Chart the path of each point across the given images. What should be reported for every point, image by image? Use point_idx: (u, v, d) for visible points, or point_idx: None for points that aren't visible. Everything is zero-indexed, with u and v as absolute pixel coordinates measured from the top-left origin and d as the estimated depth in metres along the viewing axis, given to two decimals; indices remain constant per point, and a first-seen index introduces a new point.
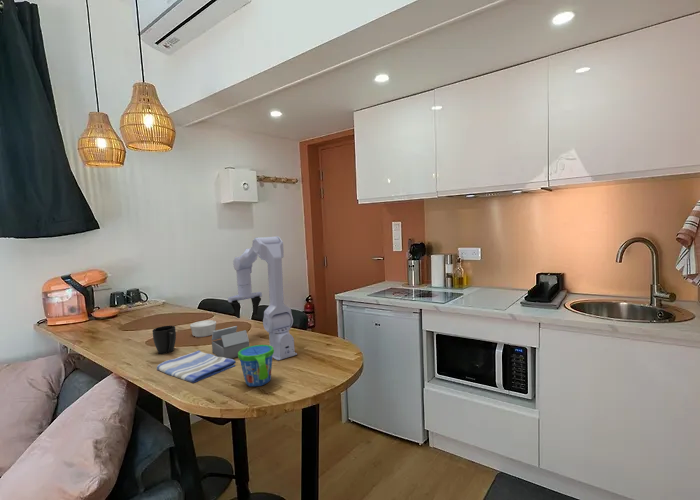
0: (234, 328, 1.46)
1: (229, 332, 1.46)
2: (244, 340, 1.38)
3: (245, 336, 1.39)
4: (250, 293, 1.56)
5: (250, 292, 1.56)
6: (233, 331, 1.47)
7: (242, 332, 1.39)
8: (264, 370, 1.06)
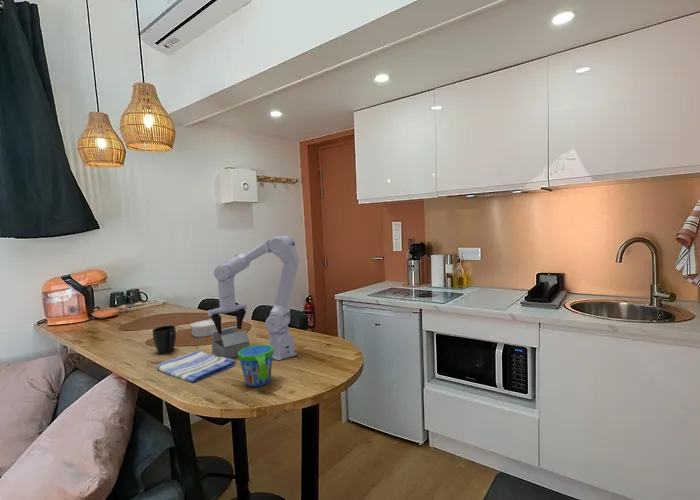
0: (234, 328, 1.46)
1: (229, 332, 1.46)
2: (244, 340, 1.38)
3: (245, 336, 1.39)
4: (233, 306, 1.38)
5: (233, 304, 1.38)
6: (233, 331, 1.47)
7: (242, 332, 1.39)
8: (264, 370, 1.06)
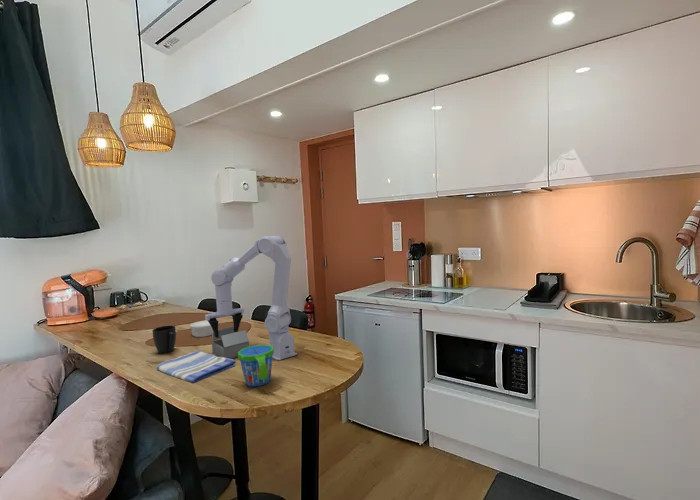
0: None
1: (229, 332, 1.46)
2: (244, 340, 1.38)
3: (245, 336, 1.39)
4: (230, 310, 1.41)
5: (230, 309, 1.41)
6: (233, 331, 1.47)
7: (242, 332, 1.39)
8: (264, 370, 1.06)
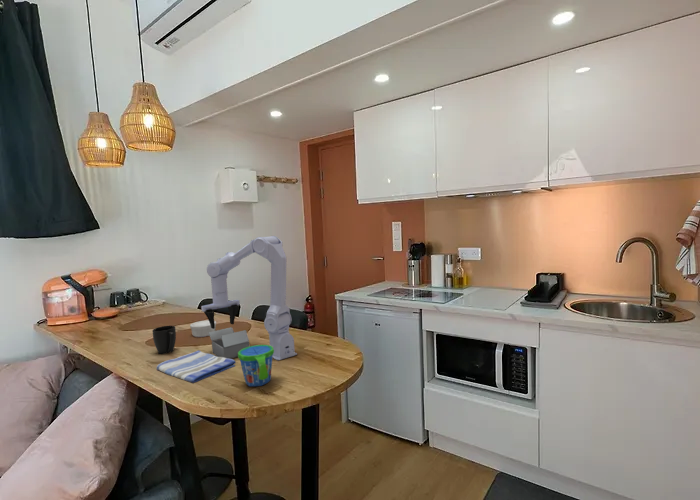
0: (230, 328, 1.50)
1: (226, 332, 1.48)
2: (244, 340, 1.38)
3: (245, 336, 1.39)
4: (226, 301, 1.44)
5: (226, 300, 1.44)
6: (230, 331, 1.49)
7: (242, 332, 1.39)
8: (264, 370, 1.06)
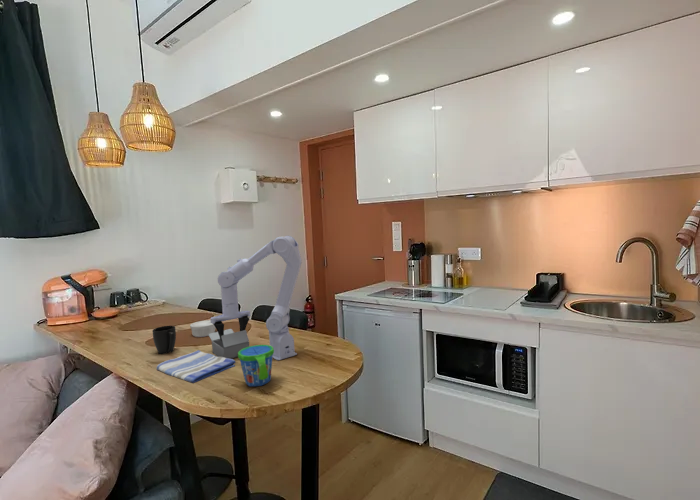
0: (229, 330, 1.50)
1: (226, 333, 1.48)
2: (244, 340, 1.38)
3: (245, 336, 1.39)
4: (236, 313, 1.37)
5: (236, 312, 1.37)
6: (230, 332, 1.49)
7: (242, 332, 1.39)
8: (264, 370, 1.06)
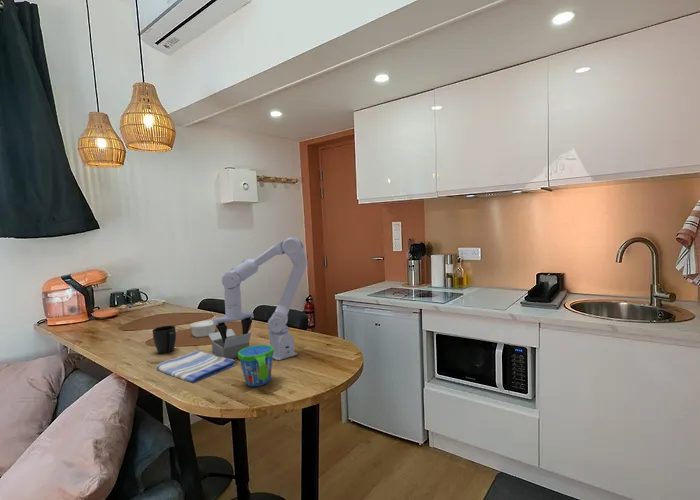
0: (229, 330, 1.50)
1: (226, 333, 1.48)
2: (245, 342, 1.37)
3: (247, 339, 1.37)
4: (239, 314, 1.34)
5: (239, 313, 1.34)
6: (230, 332, 1.49)
7: (246, 335, 1.36)
8: (264, 370, 1.06)
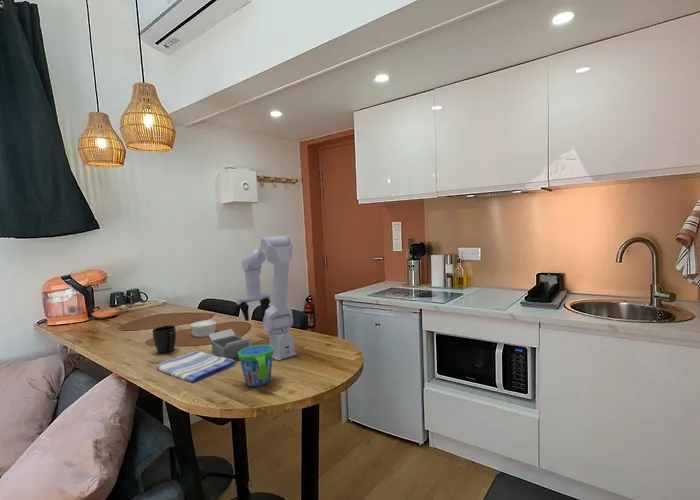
0: (229, 330, 1.50)
1: (226, 333, 1.48)
2: None
3: (248, 341, 1.37)
4: (259, 295, 1.51)
5: (259, 294, 1.51)
6: (230, 332, 1.49)
7: (248, 339, 1.35)
8: (264, 370, 1.06)
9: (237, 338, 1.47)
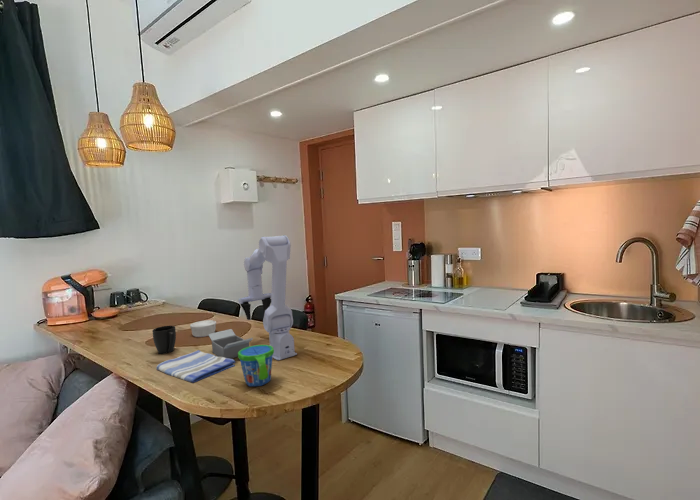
0: (229, 330, 1.50)
1: (226, 333, 1.48)
2: (245, 343, 1.37)
3: (248, 341, 1.37)
4: (261, 294, 1.53)
5: (261, 293, 1.53)
6: (230, 332, 1.49)
7: (248, 340, 1.35)
8: (264, 370, 1.06)
9: (237, 338, 1.47)
